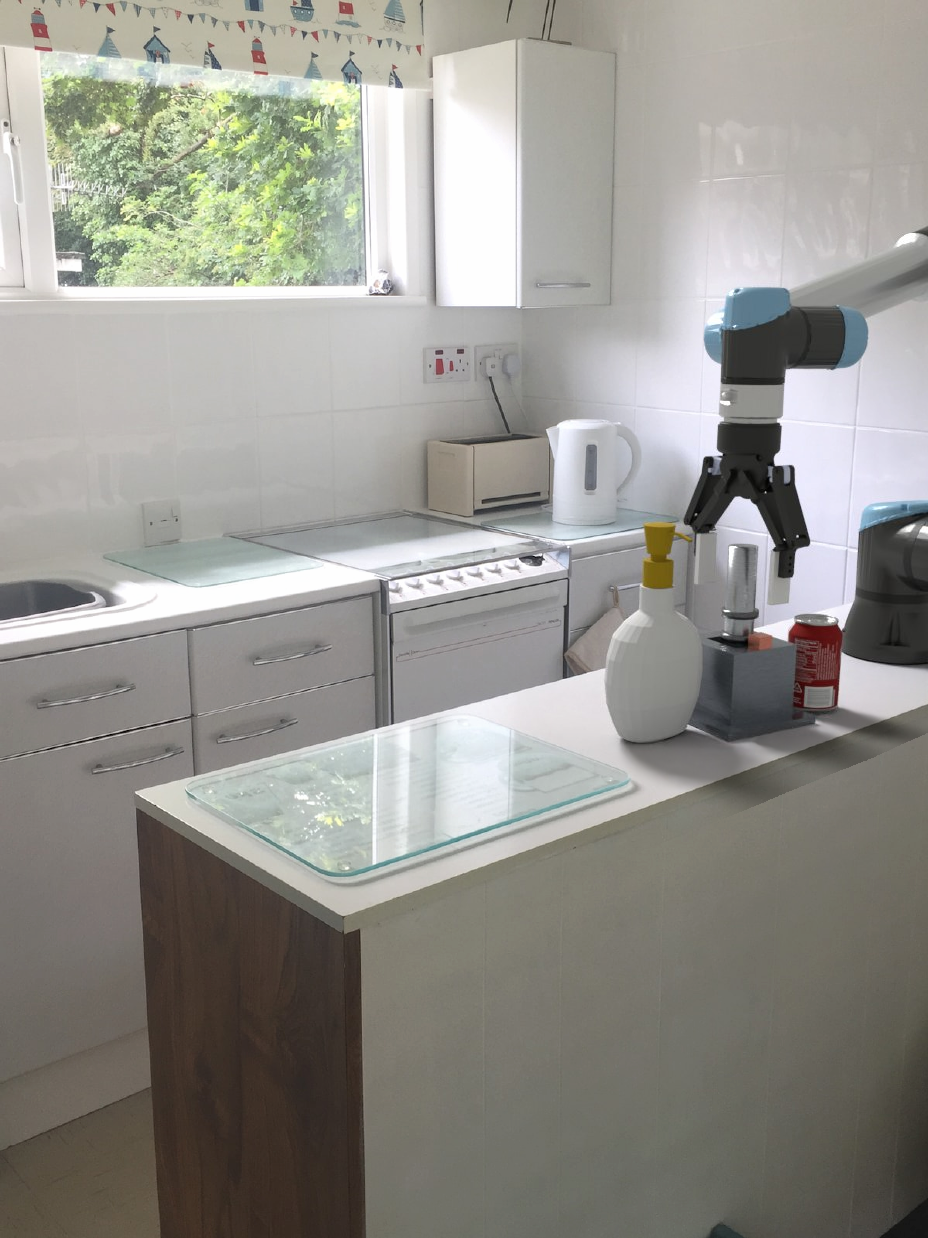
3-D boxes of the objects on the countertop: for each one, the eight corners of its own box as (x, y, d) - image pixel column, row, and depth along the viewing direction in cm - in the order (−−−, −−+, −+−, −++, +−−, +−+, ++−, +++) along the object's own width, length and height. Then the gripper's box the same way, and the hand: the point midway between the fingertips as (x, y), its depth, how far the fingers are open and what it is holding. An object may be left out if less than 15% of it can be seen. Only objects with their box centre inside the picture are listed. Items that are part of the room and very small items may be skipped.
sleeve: (739, 694, 163) (744, 610, 160) (815, 723, 151) (821, 633, 148) (656, 709, 157) (659, 623, 154) (728, 741, 145) (733, 647, 142)
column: (736, 699, 157) (745, 541, 152) (761, 708, 153) (770, 547, 148) (709, 704, 154) (716, 544, 150) (733, 714, 150) (741, 550, 146)
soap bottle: (639, 758, 139) (646, 534, 133) (585, 738, 146) (590, 524, 140) (722, 734, 147) (733, 522, 141) (668, 715, 154) (676, 513, 148)
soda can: (839, 717, 153) (846, 625, 151) (784, 714, 155) (790, 623, 152) (834, 701, 160) (841, 613, 157) (782, 698, 161) (787, 611, 158)
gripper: (660, 414, 154) (654, 578, 159) (800, 428, 133) (787, 616, 138) (707, 413, 157) (698, 573, 162) (850, 426, 136) (836, 609, 141)
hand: (739, 593), depth 150 cm, fingers open, 13 cm apart
